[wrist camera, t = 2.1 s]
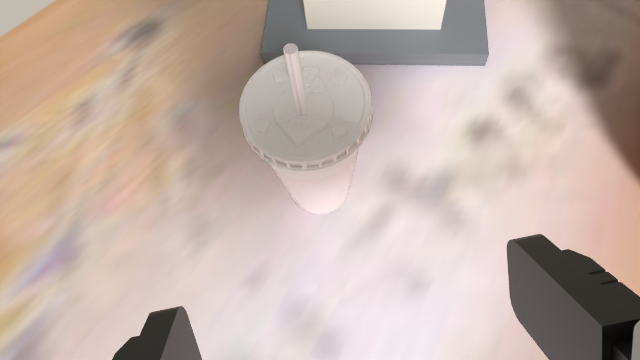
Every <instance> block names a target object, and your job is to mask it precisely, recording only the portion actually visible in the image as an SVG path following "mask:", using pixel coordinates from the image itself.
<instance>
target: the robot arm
mask: <svg viewBox="0 0 640 360" xmlns="http://www.w3.org/2000/svg"><path fill="white" fill-rule="evenodd" d="M507 260H508V275H509V290H510V299H511V304H512V307H513V310H514V312H515V315H516V317H517V318H518V320H519V322H520V323H521V324H522V325H523V327H524V328H525V329H526V331H527V332H528V333H529V334H530V336H531V337H532V338H533V340H534V341H535V342H536V343H537V345H538V346H539V347H540V349H541V350H542V351H543V352H544V354H545V355H546V356H547V358H548V359H549V360H640V297H639V296H638V295H637V294H635V293H634V292H633V291H632V290H630V289H629V288H628V287H626V286H625V285H624V284H623V283H621V282H618V279H616V278H615V277H614V276H612V275H611V274H610V273H609V272H605V269H604V268H602V267H601V266H600V265H598V264H597V263H596V262H595V261H593V260H592V259H591V258H589V257H587V256H584V255H582V254H579V253H577V252H574V251H572V250H569V249H567V250H562V251H561V250H560V249H559V248H558V247H557V246H555V245H554V244H553V243H552V242H551V241H549V240H548V239H547V238H546V237H545V236H543V235H541V234H537V235H532V236H527V237H522V238H517V239H513V240H509V241H508V244H507ZM112 360H202V358H201V355H200V352H199V349H198V346H197V343H196V339H195V336H194V333H193V330H192V327H191V324H190V321H189V318H188V315H187V312H186V310H185V309H184V308H183V307H182V306H180V307H175V308H170V309H165V310H160V311H155V312H151V313H150V314H149V316H148V318H147V320H146V322H145V325H144V327H143V329H142V331H141V334H140V336H136V337H131V338H130V339H129V340H128V341H127V342H126V343H125V344H124V345H123V346H122V347H121V348H120V349H119V350H118V351H117V352H116V353H115V355H114V357H113V359H112Z"/></svg>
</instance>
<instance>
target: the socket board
mask: <svg viewBox="0 0 640 360" xmlns="http://www.w3.org/2000/svg"><path fill="white" fill-rule="evenodd" d="M291 43H292V44H295V45H296V46H297V48H298V51H322V52H327V53H331V54H334V55H337V56H339V57H341V58H343V59H345V60H347V61H348V62H350V63H351V64H389V65H477V66H485V64H486V61H487V58H488V55H489V51H488V40H487V28H486V17H485V6H484V0H269V4H268V10H267V16H266V23H265V29H264V35H263V41H262V47H261V55H262V59H263V62H264V63H268V62H269V61H271V60H273V59H275V58H277V57H279V56H282V55H284V51H283V48H284V46H285V45H287V44H291Z"/></svg>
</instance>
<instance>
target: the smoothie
mask: <svg viewBox="0 0 640 360" xmlns="http://www.w3.org/2000/svg"><path fill="white" fill-rule="evenodd" d="M283 51H284V55H282V56H279V57H277V58H275V59H273V60H271V61H269V62H268V63H266V64H265V65H263V66H262V67H261V68H260V69H258V70H257V71H256V72H255V73H254V74H253V76H252V77H251V78H250V79H249V81H248V82H247V84H246V85H245V87H244V89H243V92H242V94H241V98H240V103H239V117H240V122H241V125H242V128H243V132H244V136H245V138H246V140H247V142H248V143H249V145H250V147H251V148H252V150H253V151H254V152H255V153H257V154H258V155H259V156H260V157H261V158H262V159H263V160H264V161H266V162H268V163H269V164H270V165H271V167H272V168H273V170H274V171H275V173H276V174H277V175H278V177H279V178H280V180H281V181H282V183H283V184H284V186H285V187H286V189H287V190H288V192H289V193H290V195H291V196H292V197H293V199H294V200H295V202H296V203H297V205H298V206H299V207H300V208H302V209H303V210H305V211H306V212H309V213H312V214H327V213H330V212H333V211H335V210H336V209H338V208H339V207H340V206H341V205H342V204H343V203H344V201H345V200H346V198H347V195H348V192H349V187H350V183H351V179H352V175H353V171H354V167H355V162H356V158H357V154H358V150H359V147H360V145H361V144H362V142H363V141H364V139H365V137H366V136H367V134H368V132H369V129H370V125H371V121H372V118H373V114H372V100H371V93H370V89H369V86H368V84H367V81H366V80H365V78H364V76H363V75H362V74H361V72H360V71H359V70H358V69H357V68H356V67H355V66H354V65H352V64H351V63H350V62H348V61H347V60H345V59H343V58H341V57H339V56H337V55H334V54H331V53H327V52H322V51H298V48H297V46H296V45H295V44H292V43H291V44H287V45H285V46H284V48H283Z"/></svg>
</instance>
